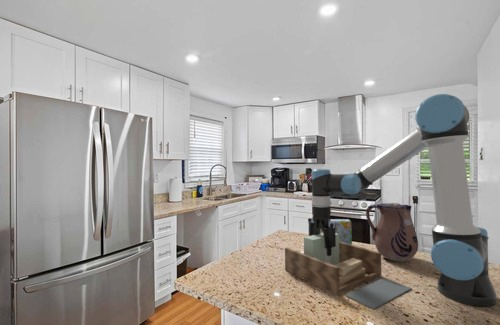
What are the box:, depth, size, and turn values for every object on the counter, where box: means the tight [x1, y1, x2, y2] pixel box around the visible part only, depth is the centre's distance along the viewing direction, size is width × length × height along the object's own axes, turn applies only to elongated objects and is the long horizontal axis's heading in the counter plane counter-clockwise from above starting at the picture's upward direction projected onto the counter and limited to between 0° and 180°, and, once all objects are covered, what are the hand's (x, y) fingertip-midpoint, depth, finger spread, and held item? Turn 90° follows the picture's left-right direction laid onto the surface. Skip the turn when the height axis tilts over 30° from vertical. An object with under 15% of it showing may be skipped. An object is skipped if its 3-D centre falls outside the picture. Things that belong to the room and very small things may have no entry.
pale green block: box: [303, 233, 340, 265], centre depth 110 cm, size 5×16×14 cm, turn 123°
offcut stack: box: [335, 258, 367, 287], centre depth 100 cm, size 5×16×6 cm, turn 123°
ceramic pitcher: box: [365, 202, 419, 262], centre depth 122 cm, size 18×21×25 cm
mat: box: [344, 277, 412, 310], centre depth 89 cm, size 10×23×1 cm, turn 123°
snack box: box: [307, 218, 353, 245], centre depth 137 cm, size 21×6×15 cm, turn 84°
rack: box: [284, 241, 382, 296], centre depth 106 cm, size 26×27×9 cm
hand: (322, 260), depth 110 cm, fingers closed on pale green block, 5 cm apart
